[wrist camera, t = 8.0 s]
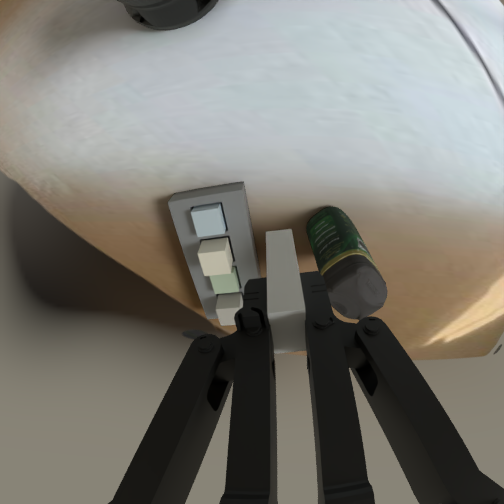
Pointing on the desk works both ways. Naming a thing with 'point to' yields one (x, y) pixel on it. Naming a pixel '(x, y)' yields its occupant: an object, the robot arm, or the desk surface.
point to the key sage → (226, 282)
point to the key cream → (215, 256)
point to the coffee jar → (345, 265)
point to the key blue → (209, 219)
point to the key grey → (228, 307)
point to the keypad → (216, 236)
